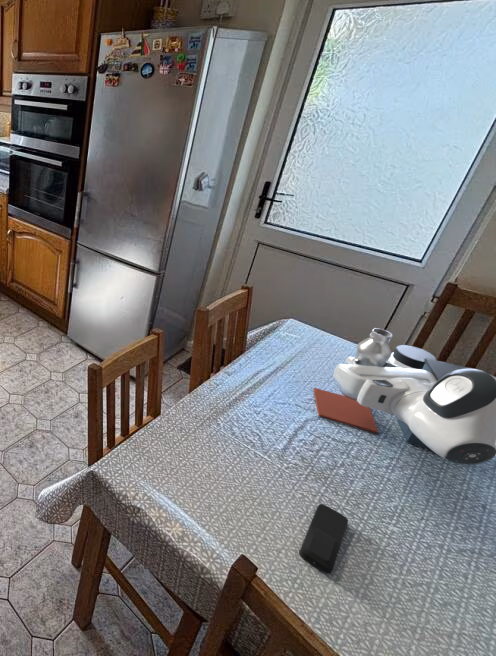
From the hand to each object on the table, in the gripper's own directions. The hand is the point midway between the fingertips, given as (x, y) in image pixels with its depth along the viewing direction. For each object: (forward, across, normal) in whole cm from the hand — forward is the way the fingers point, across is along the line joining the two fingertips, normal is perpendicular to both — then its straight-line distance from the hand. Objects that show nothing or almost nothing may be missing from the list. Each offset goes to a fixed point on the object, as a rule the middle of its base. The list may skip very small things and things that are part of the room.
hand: (364, 360), depth 105 cm
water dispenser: (-7, -14, +16) cm, 23 cm away
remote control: (-38, +26, +17) cm, 49 cm away
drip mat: (0, 0, +16) cm, 16 cm away
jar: (+11, -21, +16) cm, 29 cm away
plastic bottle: (-1, 0, +11) cm, 11 cm away
